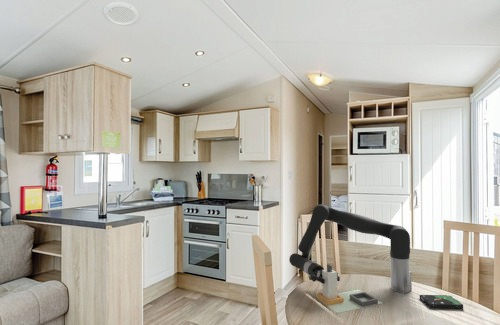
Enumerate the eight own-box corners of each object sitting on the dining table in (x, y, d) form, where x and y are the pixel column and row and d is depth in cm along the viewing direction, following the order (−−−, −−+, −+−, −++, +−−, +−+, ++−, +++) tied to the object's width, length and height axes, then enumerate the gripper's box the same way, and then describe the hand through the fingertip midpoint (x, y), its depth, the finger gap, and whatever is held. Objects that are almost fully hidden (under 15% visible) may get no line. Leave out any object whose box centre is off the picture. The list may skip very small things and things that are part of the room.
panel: (358, 291, 157) (358, 285, 157) (382, 305, 141) (382, 298, 141) (315, 299, 148) (315, 293, 148) (336, 315, 132) (336, 308, 132)
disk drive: (430, 310, 137) (464, 310, 135) (429, 304, 137) (463, 304, 135) (419, 300, 147) (450, 300, 146) (418, 294, 147) (450, 294, 146)
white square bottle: (331, 297, 148) (330, 262, 148) (337, 301, 143) (336, 265, 144) (322, 298, 147) (322, 264, 147) (328, 302, 142) (327, 267, 142)
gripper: (301, 264, 157) (318, 274, 141) (324, 261, 161) (343, 270, 146) (301, 278, 157) (319, 290, 141) (325, 274, 161) (344, 286, 146)
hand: (331, 280), depth 144 cm, fingers open, 8 cm apart
